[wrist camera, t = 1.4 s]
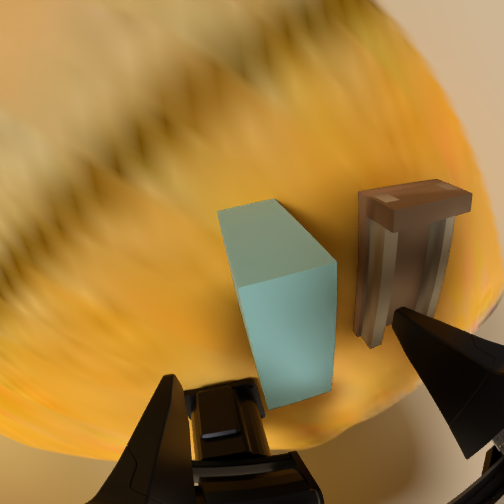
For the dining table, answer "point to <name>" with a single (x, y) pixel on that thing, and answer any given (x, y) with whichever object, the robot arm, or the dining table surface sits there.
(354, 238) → the dining table surface
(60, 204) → the dining table surface
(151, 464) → the robot arm
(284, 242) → the pale teal rectangular prism
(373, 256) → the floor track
